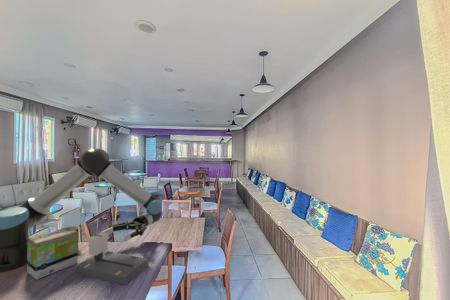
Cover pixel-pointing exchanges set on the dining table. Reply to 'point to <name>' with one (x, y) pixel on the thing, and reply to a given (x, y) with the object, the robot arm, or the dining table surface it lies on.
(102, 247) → the fader knob
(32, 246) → the tea box
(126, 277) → the console
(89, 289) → the dining table surface
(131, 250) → the dining table surface
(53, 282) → the dining table surface
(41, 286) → the dining table surface
